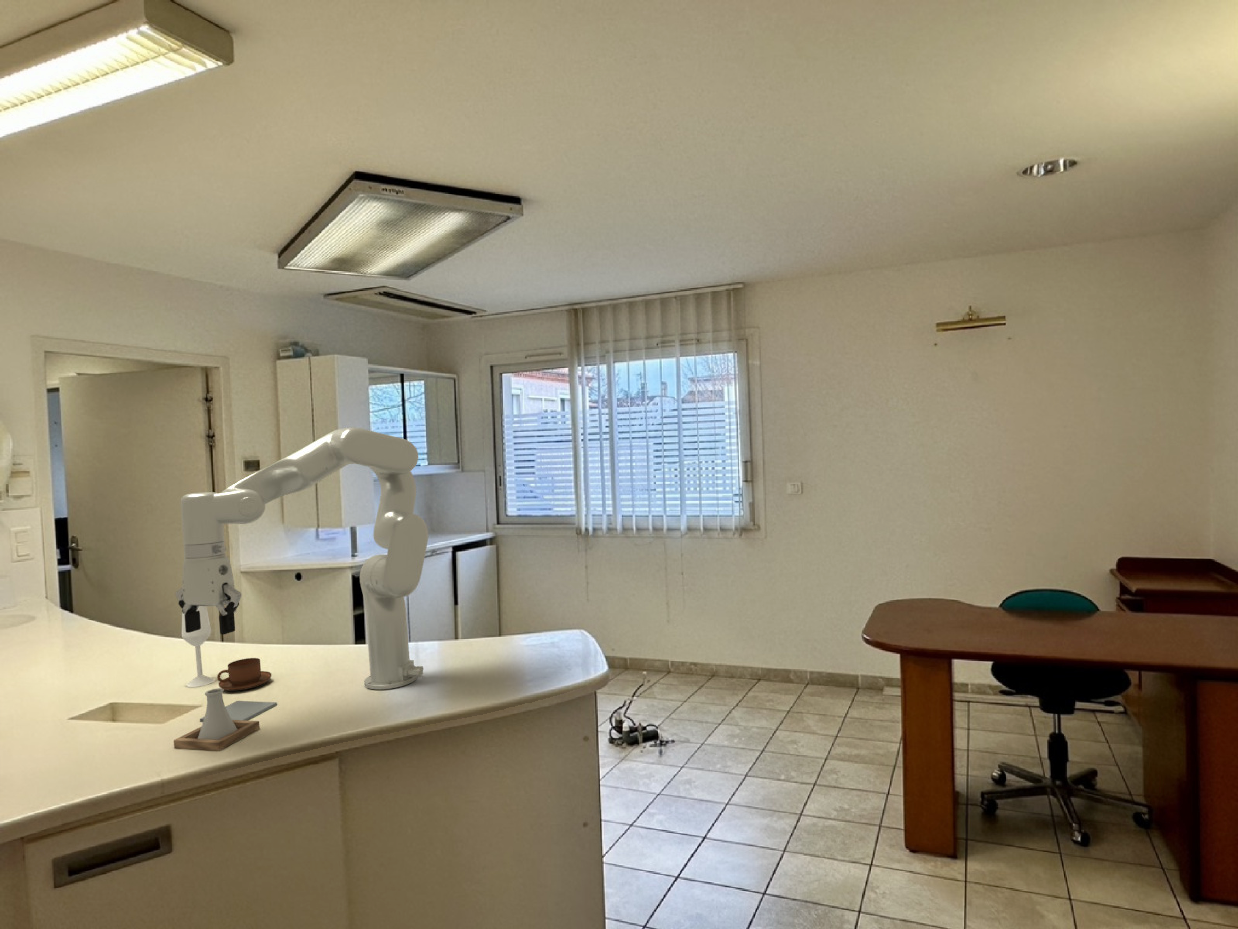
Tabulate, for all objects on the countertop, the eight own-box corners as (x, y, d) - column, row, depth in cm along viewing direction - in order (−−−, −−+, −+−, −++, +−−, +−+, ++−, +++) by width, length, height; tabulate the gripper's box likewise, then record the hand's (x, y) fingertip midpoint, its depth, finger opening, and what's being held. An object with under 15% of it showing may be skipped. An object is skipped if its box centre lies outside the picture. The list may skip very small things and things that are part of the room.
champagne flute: (182, 684, 191) (174, 592, 190) (210, 676, 196) (202, 587, 195) (190, 689, 186) (182, 595, 185) (219, 681, 191) (211, 590, 190)
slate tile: (276, 705, 170) (276, 702, 170) (241, 723, 159) (241, 721, 159) (237, 703, 173) (237, 700, 173) (200, 721, 162) (199, 718, 162)
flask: (220, 746, 148) (216, 697, 147) (189, 745, 149) (185, 696, 149) (245, 731, 155) (241, 685, 154) (215, 731, 156) (212, 684, 156)
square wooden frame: (259, 728, 156) (259, 721, 156) (219, 750, 145) (218, 742, 145) (217, 726, 159) (216, 719, 159) (174, 748, 148) (173, 740, 148)
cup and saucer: (236, 697, 178) (234, 672, 178) (209, 690, 184) (207, 666, 184) (281, 681, 188) (279, 658, 188) (254, 676, 194) (252, 653, 194)
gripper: (250, 548, 154) (256, 629, 155) (190, 548, 160) (195, 626, 161) (220, 554, 147) (226, 638, 148) (158, 554, 153) (164, 635, 154)
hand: (210, 632), depth 154 cm, fingers open, 9 cm apart
